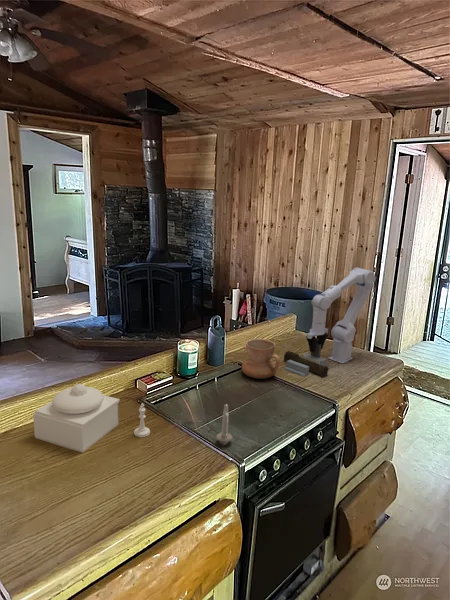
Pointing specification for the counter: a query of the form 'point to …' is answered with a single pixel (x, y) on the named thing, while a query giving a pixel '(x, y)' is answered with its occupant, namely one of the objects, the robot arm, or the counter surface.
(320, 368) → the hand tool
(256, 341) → the ceramic jug
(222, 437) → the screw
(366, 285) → the robot arm
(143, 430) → the chess piece
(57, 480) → the counter surface
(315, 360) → the free jaw
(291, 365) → the fixed jaw
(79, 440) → the butter dish
